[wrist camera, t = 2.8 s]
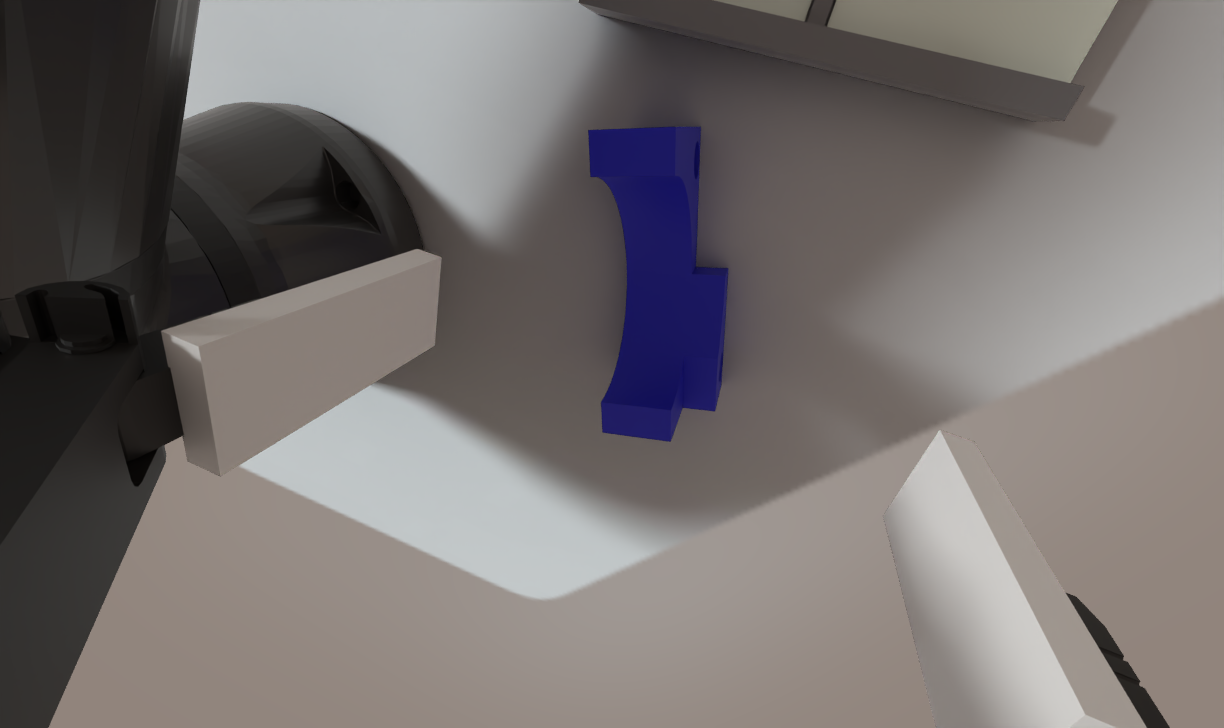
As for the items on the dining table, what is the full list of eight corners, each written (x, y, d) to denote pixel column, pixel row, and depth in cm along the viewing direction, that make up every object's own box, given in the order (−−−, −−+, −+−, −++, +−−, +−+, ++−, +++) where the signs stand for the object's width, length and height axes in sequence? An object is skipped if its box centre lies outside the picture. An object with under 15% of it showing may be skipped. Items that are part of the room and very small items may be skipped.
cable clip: (721, 383, 26) (706, 446, 21) (636, 374, 28) (602, 432, 22) (737, 125, 21) (722, 124, 16) (633, 129, 23) (588, 130, 17)
